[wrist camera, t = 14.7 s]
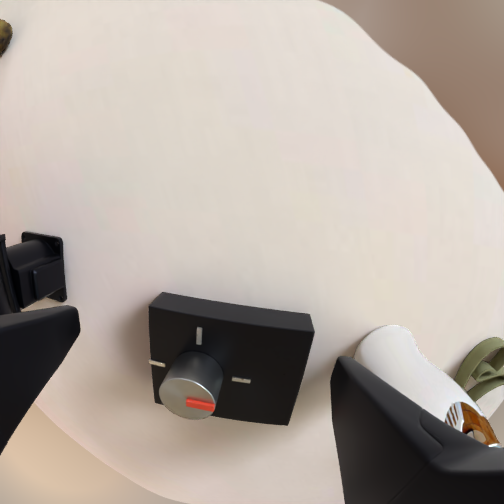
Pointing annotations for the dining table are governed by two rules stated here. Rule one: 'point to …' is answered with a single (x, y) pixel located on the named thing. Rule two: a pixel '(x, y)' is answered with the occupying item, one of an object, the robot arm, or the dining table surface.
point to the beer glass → (422, 381)
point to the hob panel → (235, 352)
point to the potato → (5, 34)
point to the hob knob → (192, 386)
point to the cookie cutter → (483, 368)
